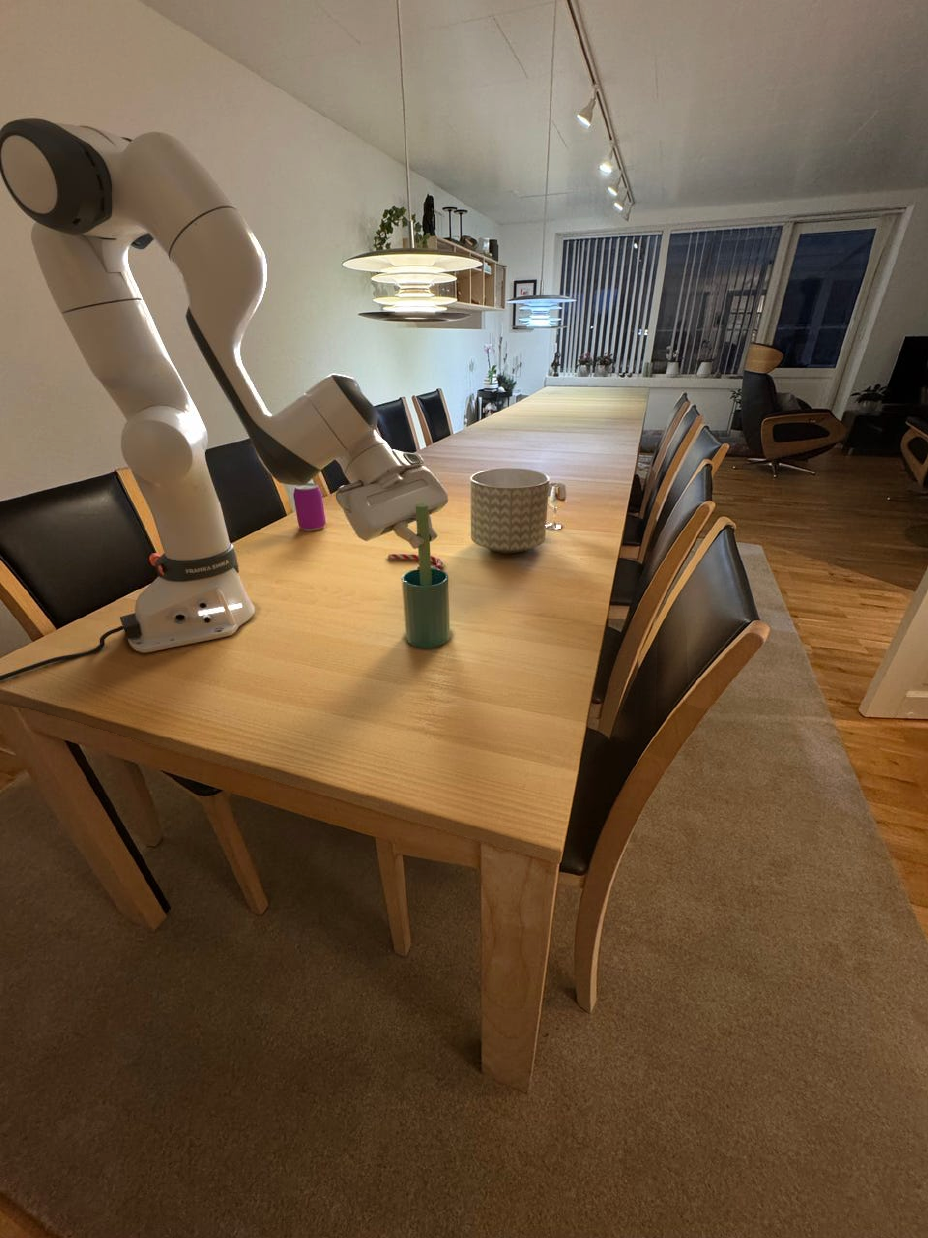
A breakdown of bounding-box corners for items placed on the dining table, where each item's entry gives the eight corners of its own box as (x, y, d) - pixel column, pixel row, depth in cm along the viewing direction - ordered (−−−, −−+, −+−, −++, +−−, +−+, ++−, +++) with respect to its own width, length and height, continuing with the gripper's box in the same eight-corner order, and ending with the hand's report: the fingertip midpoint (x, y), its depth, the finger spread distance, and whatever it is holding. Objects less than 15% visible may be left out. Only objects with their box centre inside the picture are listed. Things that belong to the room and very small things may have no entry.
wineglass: (557, 522, 150) (561, 481, 144) (567, 528, 146) (571, 486, 140) (539, 524, 149) (542, 483, 143) (548, 531, 144) (552, 488, 138)
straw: (424, 587, 88) (419, 507, 81) (418, 583, 89) (413, 504, 83) (434, 584, 89) (430, 505, 82) (428, 580, 90) (423, 502, 84)
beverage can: (316, 532, 144) (310, 490, 139) (293, 530, 147) (286, 488, 141) (331, 524, 151) (325, 483, 145) (308, 521, 153) (302, 481, 147)
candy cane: (394, 549, 129) (448, 557, 124) (395, 554, 130) (448, 562, 125) (378, 560, 123) (434, 570, 118) (378, 565, 124) (434, 575, 119)
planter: (481, 532, 143) (481, 466, 135) (549, 538, 139) (554, 470, 130) (461, 557, 128) (460, 484, 119) (537, 565, 123) (542, 490, 114)
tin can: (420, 653, 90) (416, 591, 84) (398, 634, 95) (393, 574, 90) (458, 639, 94) (457, 579, 88) (434, 621, 99) (432, 564, 94)
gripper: (338, 476, 76) (393, 552, 76) (425, 452, 90) (471, 515, 90) (322, 501, 80) (374, 573, 80) (408, 474, 95) (452, 535, 95)
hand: (426, 542), depth 85 cm, fingers closed on straw, 2 cm apart
